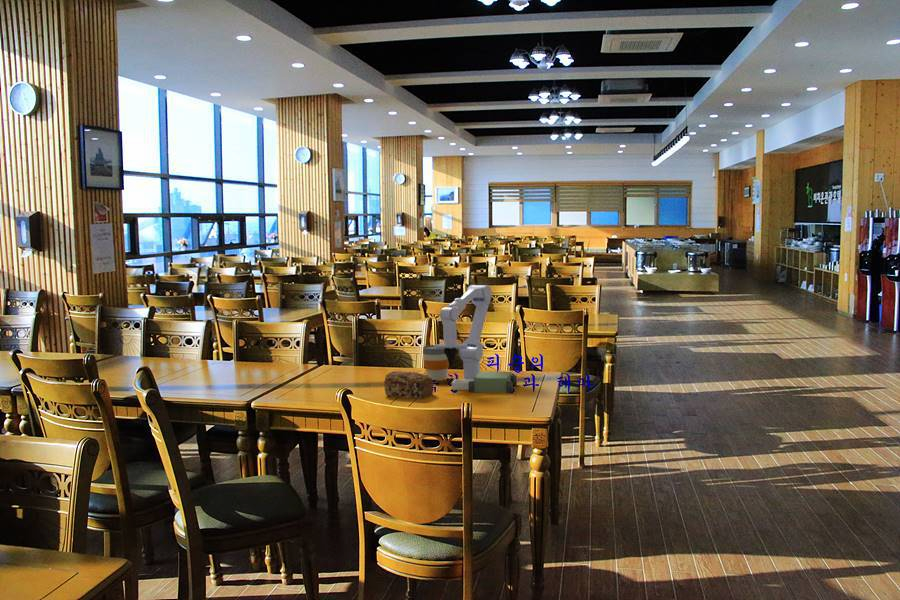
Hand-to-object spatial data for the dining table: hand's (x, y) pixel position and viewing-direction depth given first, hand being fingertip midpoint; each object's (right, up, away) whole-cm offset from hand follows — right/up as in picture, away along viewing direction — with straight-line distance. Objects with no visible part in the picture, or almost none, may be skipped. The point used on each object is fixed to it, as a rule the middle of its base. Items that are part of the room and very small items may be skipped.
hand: (451, 365), depth 335 cm
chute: (+6, -9, -5) cm, 12 cm away
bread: (-18, -12, -13) cm, 25 cm away
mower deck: (+18, -9, -7) cm, 22 cm away
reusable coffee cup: (-6, -8, +20) cm, 22 cm away
